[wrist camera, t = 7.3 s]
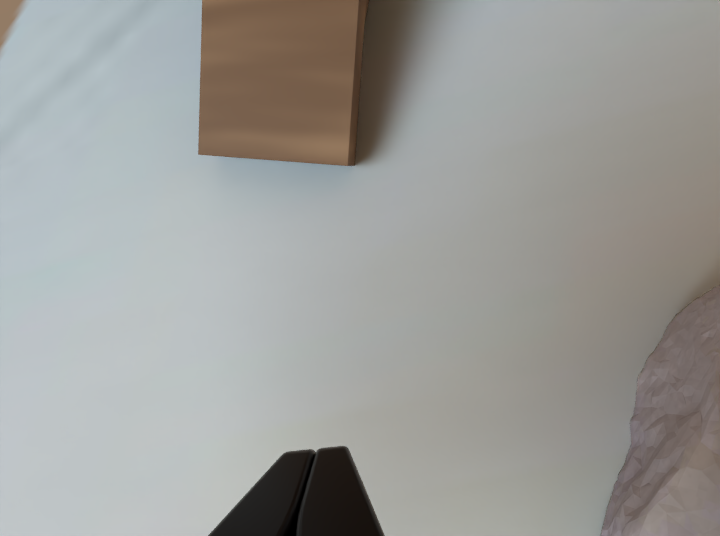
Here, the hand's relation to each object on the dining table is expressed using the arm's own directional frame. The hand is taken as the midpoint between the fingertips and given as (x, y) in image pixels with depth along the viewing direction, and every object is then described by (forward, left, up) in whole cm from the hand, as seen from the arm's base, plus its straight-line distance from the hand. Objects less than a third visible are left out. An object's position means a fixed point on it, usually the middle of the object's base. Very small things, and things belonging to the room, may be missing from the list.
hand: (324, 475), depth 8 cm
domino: (+10, +2, -10) cm, 14 cm away
